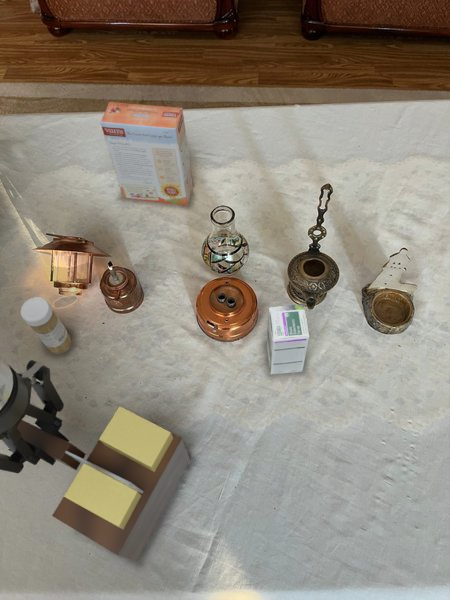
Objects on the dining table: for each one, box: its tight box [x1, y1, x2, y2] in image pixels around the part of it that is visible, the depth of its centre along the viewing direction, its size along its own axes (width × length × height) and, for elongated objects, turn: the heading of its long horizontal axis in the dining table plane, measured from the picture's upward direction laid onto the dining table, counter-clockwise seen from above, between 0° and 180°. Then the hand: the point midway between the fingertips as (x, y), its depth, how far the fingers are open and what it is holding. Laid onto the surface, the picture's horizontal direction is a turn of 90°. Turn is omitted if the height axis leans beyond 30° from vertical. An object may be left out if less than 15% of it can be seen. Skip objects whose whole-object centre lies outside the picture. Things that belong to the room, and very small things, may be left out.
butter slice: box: [63, 463, 141, 529], centre depth 66 cm, size 8×4×3 cm, turn 64°
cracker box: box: [100, 101, 194, 206], centre depth 102 cm, size 14×6×21 cm, turn 80°
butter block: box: [98, 405, 173, 472], centre depth 69 cm, size 8×5×3 cm, turn 63°
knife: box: [17, 419, 143, 493], centre depth 69 cm, size 21×2×4 cm, turn 64°
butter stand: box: [51, 432, 192, 562], centre depth 75 cm, size 10×16×14 cm, turn 153°
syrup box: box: [266, 303, 310, 375], centre depth 85 cm, size 6×6×14 cm
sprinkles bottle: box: [20, 296, 73, 355], centre depth 88 cm, size 5×5×14 cm
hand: (53, 448), depth 73 cm, fingers closed on knife, 2 cm apart
